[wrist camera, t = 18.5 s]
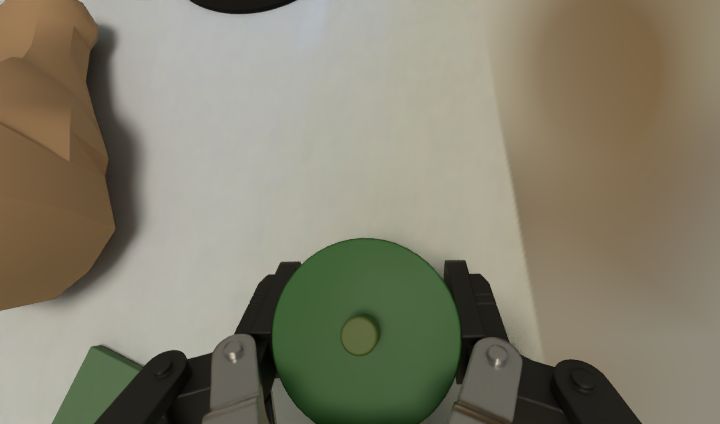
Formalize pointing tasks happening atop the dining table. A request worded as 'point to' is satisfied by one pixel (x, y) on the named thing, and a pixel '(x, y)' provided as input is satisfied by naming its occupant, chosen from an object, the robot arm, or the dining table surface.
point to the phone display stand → (241, 5)
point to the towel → (96, 386)
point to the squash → (48, 152)
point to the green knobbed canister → (366, 335)
